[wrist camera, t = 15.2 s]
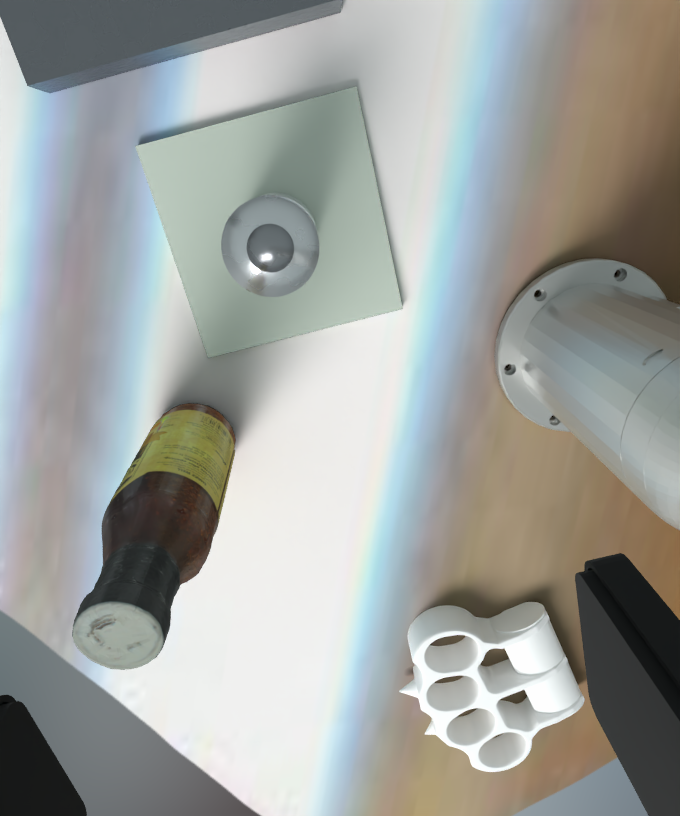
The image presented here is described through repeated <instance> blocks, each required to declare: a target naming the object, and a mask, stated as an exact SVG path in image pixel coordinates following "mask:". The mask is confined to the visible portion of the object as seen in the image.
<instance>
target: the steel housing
mask: <svg viewBox="0 0 680 816" xmlns="http://www.w3.org/2000/svg"><path fill="white" fill-rule="evenodd" d="M342 1H343V0H0V17H1V19H2V22H3V24H4V27H5V30H6V32H7V35H8V37H9V40H10V42H11V45H12V47H13V50H14V53H15V55H16V58H17V60H18V63H19V65H20V68H21V70H22V73H23V75H24V78H25V81H26V83H27V86H29V87H32V88H36V89H39V90H42V91H45V92H48V93H52V92H56V91H59V90H63V89H67V88H70V87H74V86H77V85H81V84H85V83H88V82H92V81H95V80H99V79H103V78H106V77H110V76H114V75H117V74H121V73H124V72H128V71H132V70H135V69H139V68H142V67H146V66H150V65H153V64H157V63H160V62H164V61H168V60H171V59H175V58H178V57H182V56H186V55H189V54H193V53H196V52H200V51H204V50H207V49H211V48H214V47H218V46H222V45H225V44H229V43H233V42H236V41H240V40H243V39H247V38H251V37H254V36H258V35H261V34H265V33H269V32H272V31H276V30H279V29H283V28H287V27H290V26H294V25H297V24H301V23H305V22H308V21H312V20H315V19H319V18H323V17H326V16H330V15H333V14H337V13H340V12H341V6H342Z"/></svg>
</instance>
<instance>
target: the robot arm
mask: <svg viewBox="0 0 680 816" xmlns="http://www.w3.org/2000/svg"><path fill="white" fill-rule="evenodd" d="M616 271H617V275H616V276H614V274H615V272H616ZM536 290H539V294H538V295H537V296H534V293H535V292H536ZM494 357H495V367H496V374H497V377H498V380H499V383H500V386H501V388H502V390H503V392H504V393H505V395H506V397H507V399H508V400H509V401H510V402H511V403H512V404H513V406H514V407H515V408H516V409H517V410H518V411H519V412H520V413H521V414H523V415H524V416H525V417H526V418H527V419H529V420H531V421H533V422H534V423H536V424H538V425H540V426H543V427H546V428H548V429H552V430H558V431H567V432H572V433H573V434H574V435H575V436H576V437H577V438H578V439H579V440H580V441H581V442H582V443H583V444H584V445H585V446H586V447H587V448H588V449H589V450H590V451H591V452H592V453H593V454H594V455H595V456H596V457H597V458H598V459H599V460H600V461H601V462H602V463H603V464H604V465H605V466H607V467H608V468H609V469H610V470H611V471H612V472H613V473H614V474H615V475H616V476H617V477H618V478H619V479H620V480H621V481H622V482H623V483H624V484H625V485H626V486H627V487H628V488H629V489H630V490H631V491H632V492H633V493H634V494H635V495H636V496H637V497H638V498H639V499H640V500H641V501H642V502H643V503H644V504H645V505H647V506H648V507H649V508H650V509H651V510H652V511H653V512H654V513H655V514H656V515H657V516H659V517H660V518H661V519H662V520H664V521H665V522H667V523H668V524H670V525H671V526H673V527H675V528H676V529H678V530H680V305H679V304H676V303H673V302H670V301H668V300H667V298H666V296H665V294H664V293H663V291H662V290H661V289H660V287H659V286H658V285H657V283H656V282H655V281H654V280H653V279H651V278H650V277H649V276H648V275H647V274H645V273H644V272H643V271H641V270H639V269H637V268H635V267H633V266H631V265H629V264H626V263H622V262H619V261H616V260H609V259H602V258H591V259H580V260H576V261H572V262H568V263H564V264H562V265H560V266H557V267H555V268H553V269H551V270H549V271H547V272H545V273H544V274H542V275H541V276H540V277H538V278H537V279H535V280H534V281H532V282H531V283H530V284H529V285H528V286H527V287H526V288H525V289H524V290H523V291H522V292H521V293H520V294H519V295H518V296H517V298H516V299H515V301H514V302H513V303H512V305H511V306H510V307H509V309H508V311H507V313H506V315H505V317H504V319H503V321H502V323H501V325H500V329H499V332H498V335H497V339H496V346H495V356H494ZM508 364H509V367H508V368H507V369H504V368H505V366H506V365H508ZM553 415H554V416H553ZM551 416H553V417H552V418H551ZM575 581H576V590H577V598H578V607H579V615H580V624H581V632H582V641H583V649H584V658H585V666H586V675H587V684H588V692H589V697H590V701H591V704H592V707H593V710H594V712H595V715H596V717H597V719H598V721H599V723H600V725H601V727H602V728H603V730H604V732H605V734H606V736H607V738H608V740H609V742H610V744H611V745H612V747H613V749H614V751H615V753H616V755H617V757H618V759H619V760H620V762H621V764H622V766H623V768H624V770H625V772H626V774H627V776H628V777H629V779H630V781H631V783H632V785H633V787H634V789H635V791H636V793H637V794H638V796H639V798H640V800H641V802H642V804H643V806H644V808H645V810H646V811H647V813H648V815H649V816H680V620H679V619H678V618H677V617H676V615H675V614H674V613H673V612H672V611H671V609H670V608H669V607H668V606H667V605H666V603H665V602H664V601H663V600H662V599H661V597H660V596H659V595H658V594H657V593H656V591H655V590H654V589H653V588H652V587H651V585H650V584H649V583H648V582H647V581H646V579H645V578H644V577H643V576H642V575H641V573H640V572H639V571H638V570H637V569H636V567H635V566H634V565H633V564H632V563H631V561H630V560H629V559H628V558H627V557H626V556H625V555H624V554H621V553H619V554H615V555H611V556H606V557H602V558H598V559H593V560H589V561H586V562H585V571H584V572H579V573H576V575H575ZM86 815H87V814H86V808H85V805H84V803H83V801H82V800H81V798H80V796H79V795H78V793H77V791H76V789H75V788H74V786H73V785H72V783H71V781H70V780H69V778H68V776H67V775H66V773H65V771H64V770H63V768H62V766H61V765H60V763H59V761H58V760H57V758H56V756H55V755H54V753H53V752H52V750H51V748H50V746H49V745H48V743H47V741H46V740H45V738H44V736H43V735H42V733H41V731H40V730H39V728H38V727H37V725H36V723H35V722H34V720H33V718H32V717H31V715H30V713H29V712H28V710H27V708H26V707H25V705H24V704H23V703H22V702H19V701H17V702H16V700H15V699H14V698H13V697H12V696H9V695H1V696H0V816H86Z"/></svg>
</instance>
